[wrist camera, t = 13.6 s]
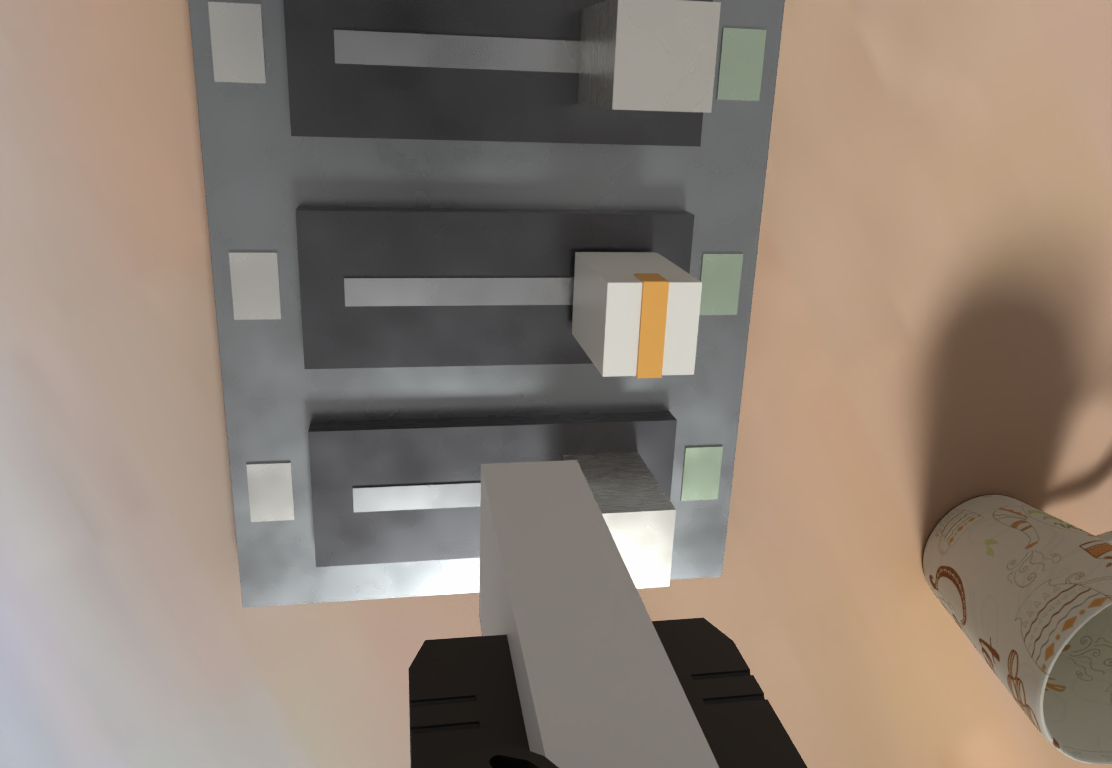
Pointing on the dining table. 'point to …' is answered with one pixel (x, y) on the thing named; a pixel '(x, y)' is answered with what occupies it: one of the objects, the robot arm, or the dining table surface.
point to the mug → (1033, 613)
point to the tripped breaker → (635, 314)
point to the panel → (470, 270)
